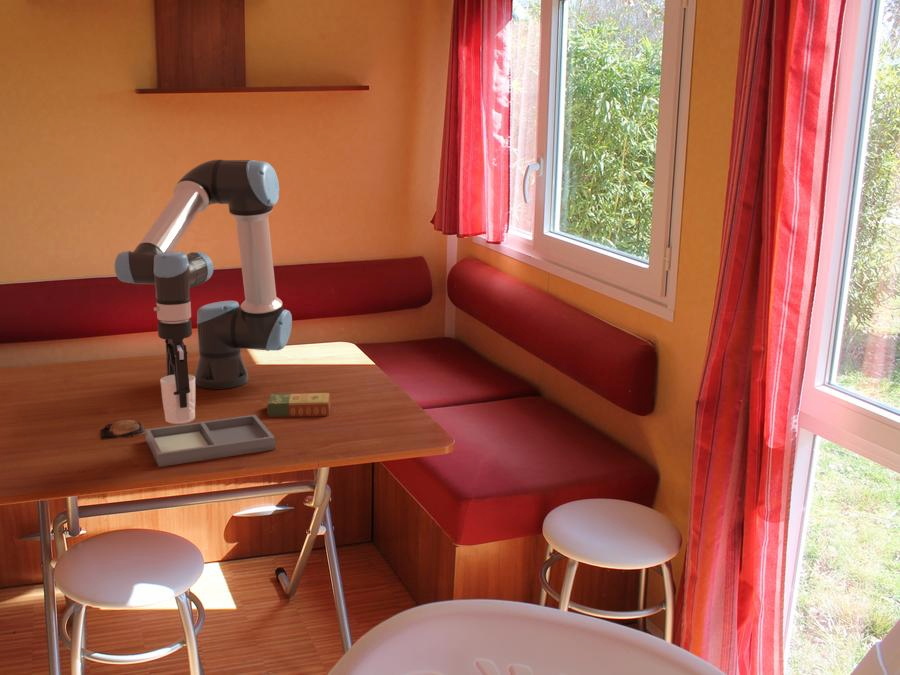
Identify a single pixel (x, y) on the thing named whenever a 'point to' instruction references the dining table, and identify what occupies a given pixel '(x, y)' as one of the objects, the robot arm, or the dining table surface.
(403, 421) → the dining table surface
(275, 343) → the robot arm
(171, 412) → the white cup
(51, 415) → the dining table surface
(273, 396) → the carton
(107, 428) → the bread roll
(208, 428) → the gray divided tray
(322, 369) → the dining table surface
